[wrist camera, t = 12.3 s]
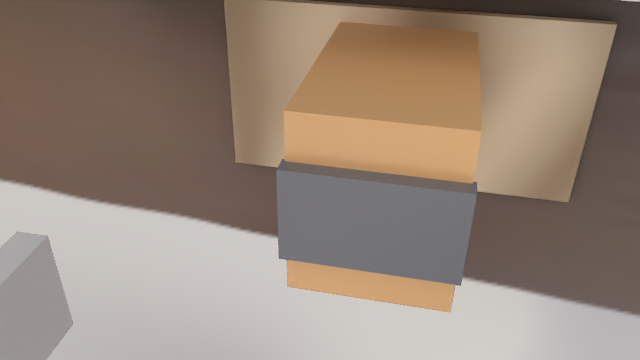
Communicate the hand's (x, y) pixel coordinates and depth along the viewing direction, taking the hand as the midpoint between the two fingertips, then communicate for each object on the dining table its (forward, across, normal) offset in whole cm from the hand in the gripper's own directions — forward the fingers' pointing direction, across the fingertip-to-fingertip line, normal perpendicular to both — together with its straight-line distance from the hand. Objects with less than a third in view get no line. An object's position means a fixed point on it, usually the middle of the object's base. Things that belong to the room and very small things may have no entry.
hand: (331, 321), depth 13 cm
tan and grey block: (+12, 0, 0) cm, 12 cm away
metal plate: (+13, 0, 0) cm, 13 cm away
